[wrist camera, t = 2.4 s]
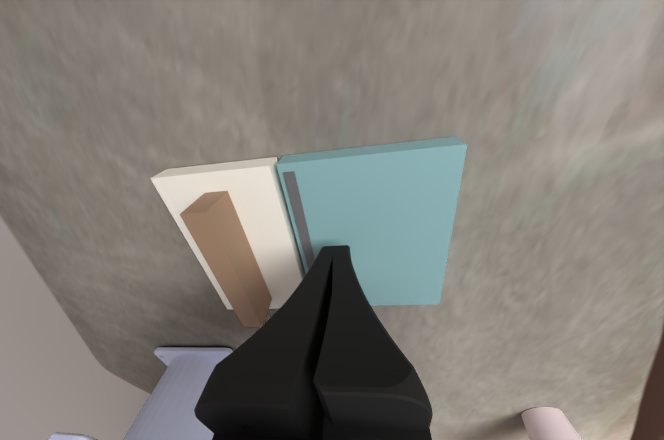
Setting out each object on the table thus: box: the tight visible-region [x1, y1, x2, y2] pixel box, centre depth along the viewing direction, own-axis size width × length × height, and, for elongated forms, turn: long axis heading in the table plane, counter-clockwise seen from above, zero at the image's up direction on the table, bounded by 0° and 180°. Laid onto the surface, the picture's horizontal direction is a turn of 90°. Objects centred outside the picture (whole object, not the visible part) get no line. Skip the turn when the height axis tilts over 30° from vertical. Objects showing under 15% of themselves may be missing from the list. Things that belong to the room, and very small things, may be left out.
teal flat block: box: [276, 137, 467, 306], centre depth 13 cm, size 10×8×1 cm
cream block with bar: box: [150, 157, 306, 327], centre depth 13 cm, size 10×6×3 cm, turn 8°
